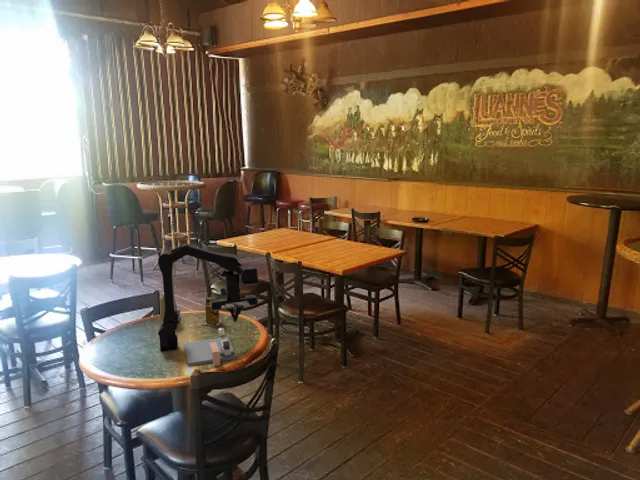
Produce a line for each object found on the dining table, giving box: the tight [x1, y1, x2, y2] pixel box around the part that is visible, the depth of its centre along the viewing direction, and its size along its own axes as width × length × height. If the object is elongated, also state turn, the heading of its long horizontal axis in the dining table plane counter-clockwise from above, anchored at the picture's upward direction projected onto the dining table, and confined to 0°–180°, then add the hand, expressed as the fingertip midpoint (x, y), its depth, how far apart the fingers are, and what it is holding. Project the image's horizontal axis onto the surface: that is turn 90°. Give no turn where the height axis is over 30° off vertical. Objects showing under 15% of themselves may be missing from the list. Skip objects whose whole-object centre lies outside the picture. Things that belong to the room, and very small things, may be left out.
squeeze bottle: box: [159, 291, 178, 323], centre depth 230 cm, size 8×8×18 cm
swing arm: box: [217, 327, 234, 356], centre depth 198 cm, size 17×5×5 cm, turn 19°
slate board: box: [183, 336, 237, 367], centre depth 198 cm, size 18×20×1 cm
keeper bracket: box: [209, 342, 221, 367], centre depth 190 cm, size 2×10×6 cm, turn 19°
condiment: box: [200, 296, 222, 327], centre depth 229 cm, size 7×8×12 cm
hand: (235, 321), depth 206 cm, fingers closed
